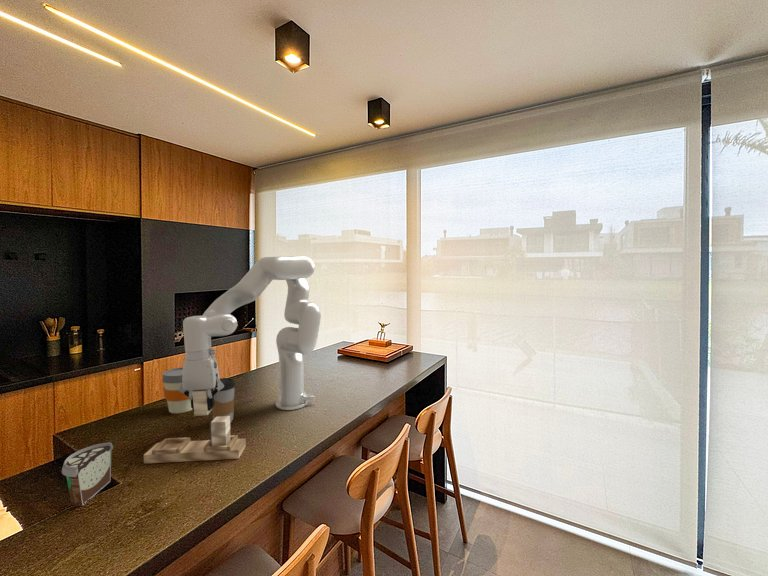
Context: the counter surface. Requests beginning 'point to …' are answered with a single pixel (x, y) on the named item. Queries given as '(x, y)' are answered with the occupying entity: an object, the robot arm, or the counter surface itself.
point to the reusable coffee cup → (175, 391)
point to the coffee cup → (224, 399)
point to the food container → (88, 472)
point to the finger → (200, 402)
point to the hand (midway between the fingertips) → (203, 408)
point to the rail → (199, 446)
